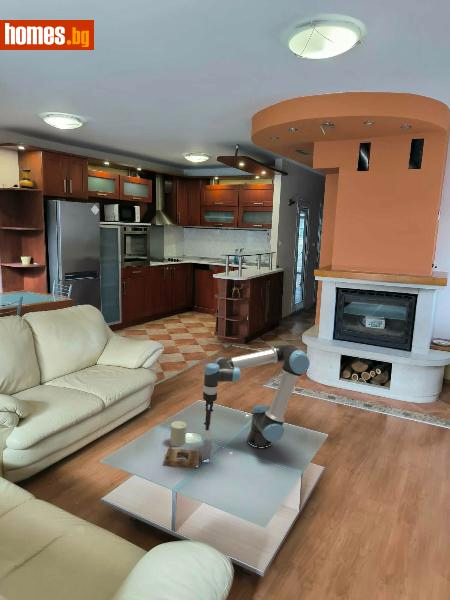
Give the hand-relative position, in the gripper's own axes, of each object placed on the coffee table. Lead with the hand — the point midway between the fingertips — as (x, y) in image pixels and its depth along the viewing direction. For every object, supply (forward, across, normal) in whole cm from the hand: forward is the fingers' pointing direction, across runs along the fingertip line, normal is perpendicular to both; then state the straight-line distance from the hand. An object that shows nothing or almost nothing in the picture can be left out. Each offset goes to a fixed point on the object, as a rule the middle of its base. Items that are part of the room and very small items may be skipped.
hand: (207, 428), depth 223 cm
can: (+19, -16, -18) cm, 30 cm away
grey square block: (+19, 0, 0) cm, 19 cm away
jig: (+19, +2, -13) cm, 23 cm away
